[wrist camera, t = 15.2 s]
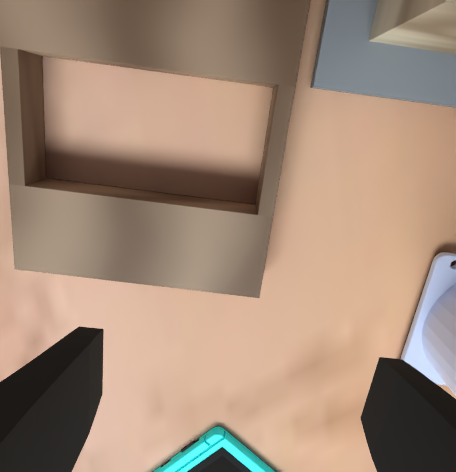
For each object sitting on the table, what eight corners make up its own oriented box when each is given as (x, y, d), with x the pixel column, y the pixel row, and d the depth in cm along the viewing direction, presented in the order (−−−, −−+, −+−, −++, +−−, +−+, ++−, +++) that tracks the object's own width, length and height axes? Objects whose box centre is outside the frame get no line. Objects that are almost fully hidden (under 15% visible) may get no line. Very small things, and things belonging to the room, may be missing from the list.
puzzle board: (349, -277, 13) (369, -343, 11) (256, 280, 20) (259, 297, 18) (8, -334, 13) (-31, -411, 11) (35, 254, 20) (14, 269, 18)
